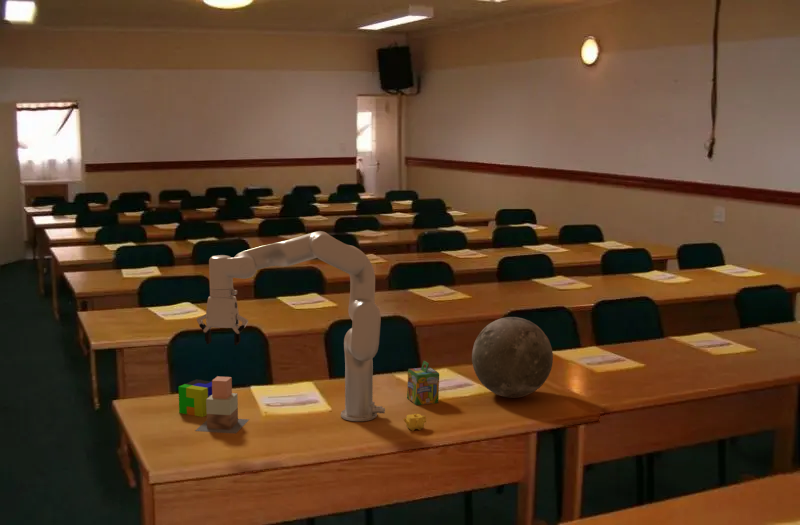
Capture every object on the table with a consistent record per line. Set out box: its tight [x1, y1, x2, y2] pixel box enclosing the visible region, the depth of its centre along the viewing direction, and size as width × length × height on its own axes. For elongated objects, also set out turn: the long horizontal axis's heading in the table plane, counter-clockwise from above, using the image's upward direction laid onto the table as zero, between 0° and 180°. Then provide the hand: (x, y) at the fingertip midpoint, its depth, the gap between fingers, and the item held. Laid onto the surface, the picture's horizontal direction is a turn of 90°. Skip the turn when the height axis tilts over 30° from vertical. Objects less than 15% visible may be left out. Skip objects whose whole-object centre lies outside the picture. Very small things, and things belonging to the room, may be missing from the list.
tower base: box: [206, 408, 239, 430], centre depth 296 cm, size 8×8×5 cm
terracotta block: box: [211, 375, 233, 399], centre depth 294 cm, size 5×5×6 cm
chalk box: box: [406, 360, 440, 406], centre depth 324 cm, size 9×9×15 cm
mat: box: [194, 418, 250, 434], centre depth 296 cm, size 14×14×1 cm
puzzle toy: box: [177, 378, 212, 418], centre depth 310 cm, size 10×10×10 cm
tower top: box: [206, 392, 239, 415], centre depth 295 cm, size 8×8×5 cm
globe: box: [471, 316, 554, 399], centre depth 330 cm, size 30×30×30 cm
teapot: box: [402, 413, 427, 432], centre depth 295 cm, size 8×6×5 cm
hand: (222, 343), depth 293 cm, fingers open, 9 cm apart
